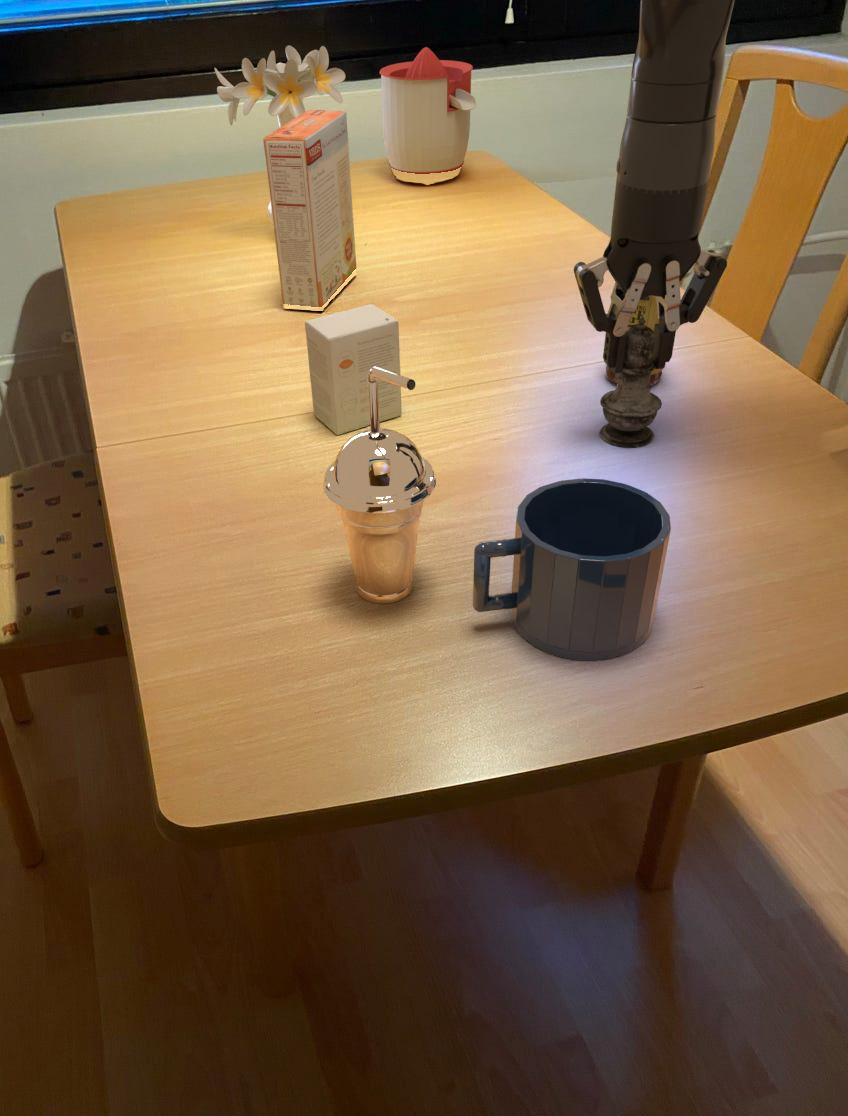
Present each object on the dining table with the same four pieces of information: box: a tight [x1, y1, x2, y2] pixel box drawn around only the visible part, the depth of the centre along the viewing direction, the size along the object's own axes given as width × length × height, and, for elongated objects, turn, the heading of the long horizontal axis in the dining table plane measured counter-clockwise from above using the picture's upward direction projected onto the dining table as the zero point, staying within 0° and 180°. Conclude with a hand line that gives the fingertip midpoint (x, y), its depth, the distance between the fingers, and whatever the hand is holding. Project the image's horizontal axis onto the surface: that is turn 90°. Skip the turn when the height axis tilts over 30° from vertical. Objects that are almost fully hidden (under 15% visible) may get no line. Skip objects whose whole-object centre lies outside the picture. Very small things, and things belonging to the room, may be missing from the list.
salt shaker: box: [599, 317, 663, 449], centre depth 92 cm, size 6×6×12 cm
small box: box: [304, 303, 403, 436], centre depth 99 cm, size 8×6×10 cm
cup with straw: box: [322, 366, 437, 604], centre depth 72 cm, size 8×9×20 cm
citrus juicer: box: [379, 46, 477, 174], centre depth 165 cm, size 16×17×20 cm
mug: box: [472, 477, 672, 661], centre depth 72 cm, size 14×11×9 cm
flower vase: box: [214, 45, 346, 227], centre depth 142 cm, size 13×18×25 cm
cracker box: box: [262, 109, 357, 307], centre depth 124 cm, size 14×6×21 cm, turn 161°
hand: (636, 366), depth 92 cm, fingers closed on salt shaker, 3 cm apart
